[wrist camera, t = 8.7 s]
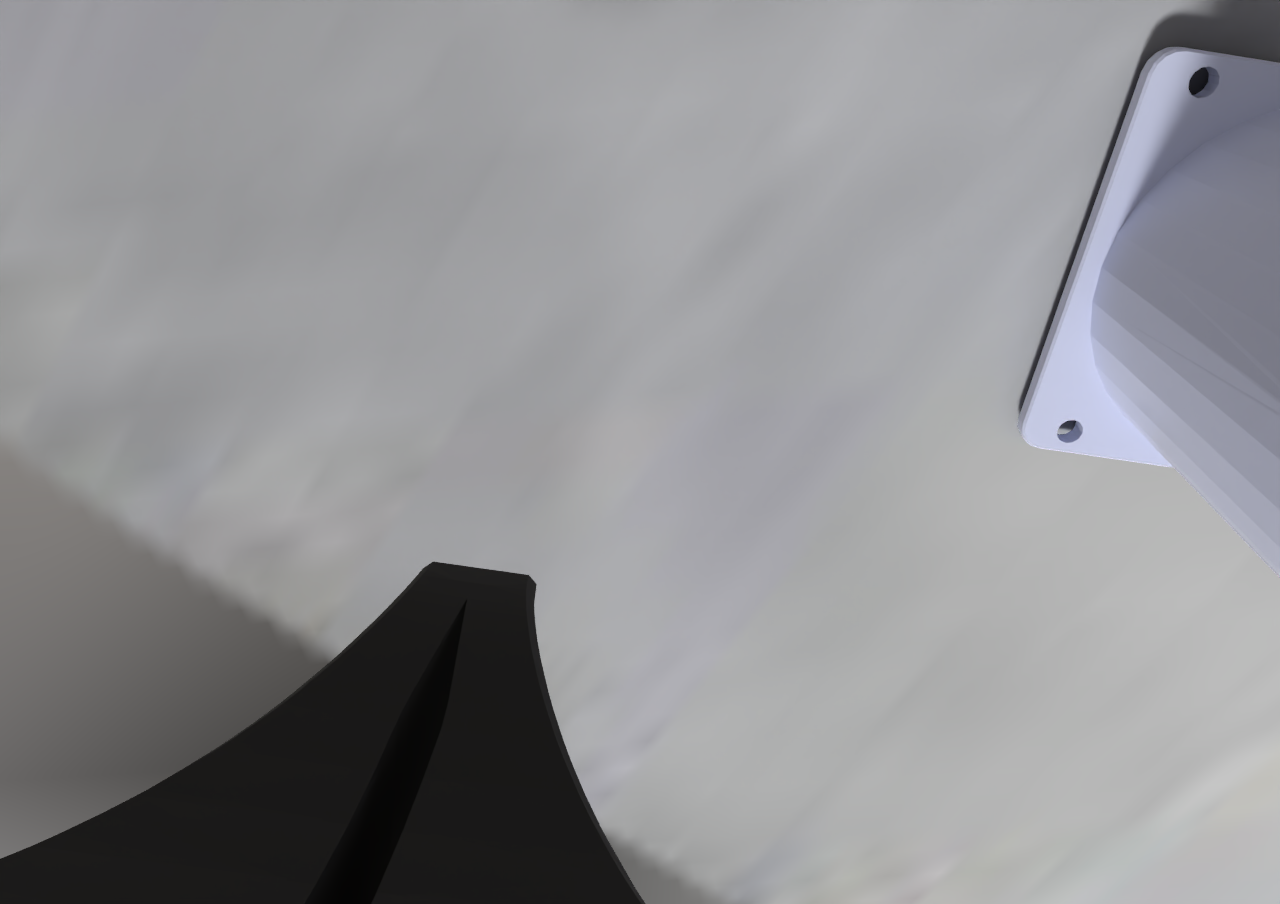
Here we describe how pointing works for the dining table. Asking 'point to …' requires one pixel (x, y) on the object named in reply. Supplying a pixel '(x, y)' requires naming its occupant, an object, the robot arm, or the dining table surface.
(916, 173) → the dining table surface
